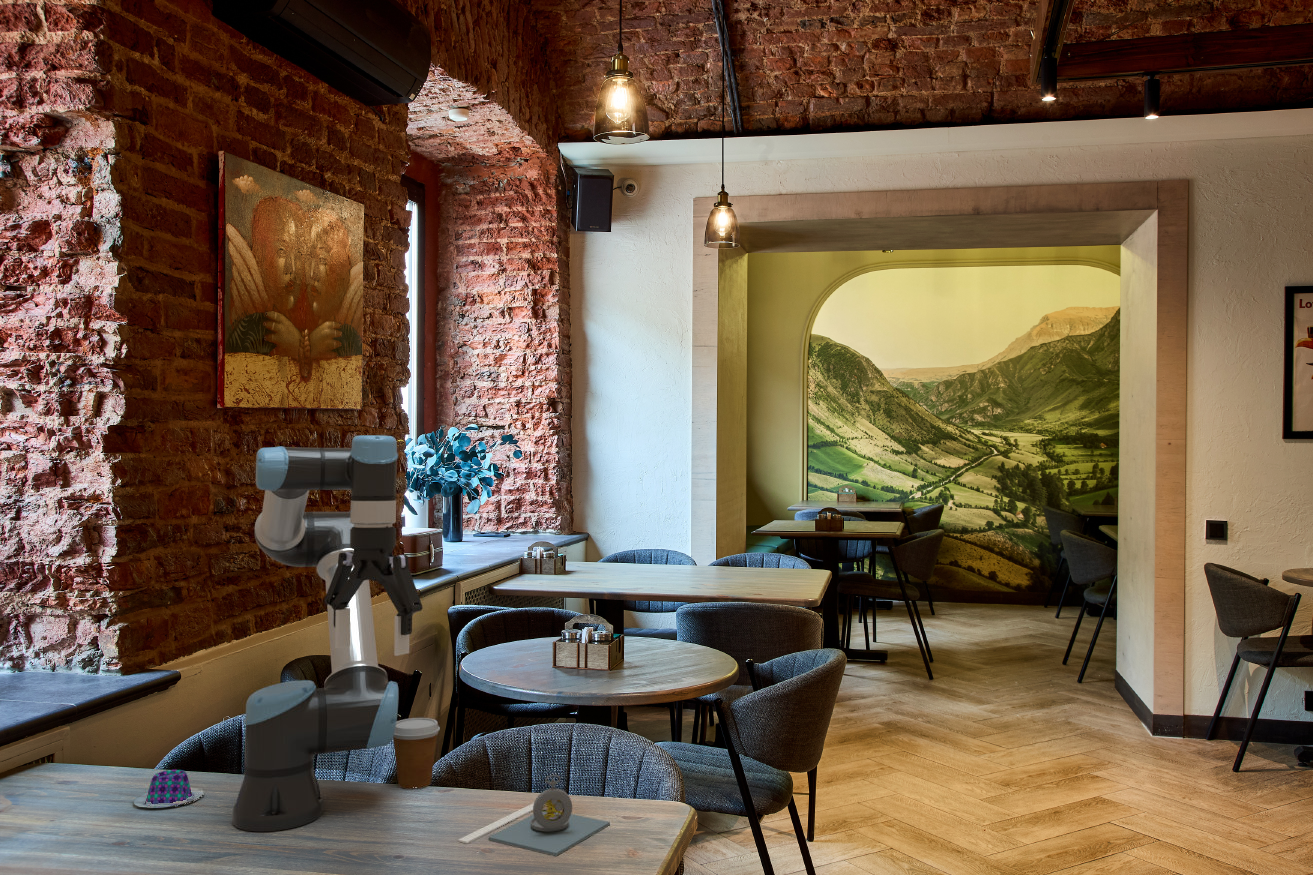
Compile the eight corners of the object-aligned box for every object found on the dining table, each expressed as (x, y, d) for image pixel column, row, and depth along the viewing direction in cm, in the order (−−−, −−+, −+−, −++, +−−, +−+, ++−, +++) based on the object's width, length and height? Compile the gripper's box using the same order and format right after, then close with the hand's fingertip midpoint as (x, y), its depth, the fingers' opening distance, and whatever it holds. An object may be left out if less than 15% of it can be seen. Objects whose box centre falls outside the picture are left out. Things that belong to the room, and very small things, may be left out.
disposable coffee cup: (426, 793, 184) (427, 730, 185) (381, 789, 186) (382, 727, 187) (447, 778, 194) (447, 718, 194) (403, 775, 195) (404, 716, 196)
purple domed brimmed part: (213, 789, 187) (213, 762, 188) (190, 811, 175) (191, 782, 176) (148, 792, 186) (149, 765, 186) (121, 813, 174) (122, 784, 174)
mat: (488, 839, 160) (488, 836, 160) (545, 811, 174) (545, 808, 174) (556, 856, 153) (556, 852, 153) (609, 824, 167) (609, 821, 167)
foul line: (458, 841, 160) (458, 839, 160) (537, 802, 179) (537, 801, 179) (467, 843, 159) (467, 841, 159) (545, 804, 178) (545, 802, 178)
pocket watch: (551, 817, 170) (551, 760, 170) (583, 828, 164) (584, 769, 164) (515, 829, 163) (515, 770, 164) (548, 842, 158) (548, 780, 158)
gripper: (444, 526, 160) (443, 653, 160) (337, 522, 172) (335, 640, 171) (413, 528, 154) (411, 661, 153) (304, 524, 165) (302, 647, 165)
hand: (371, 650), depth 162 cm, fingers open, 13 cm apart
